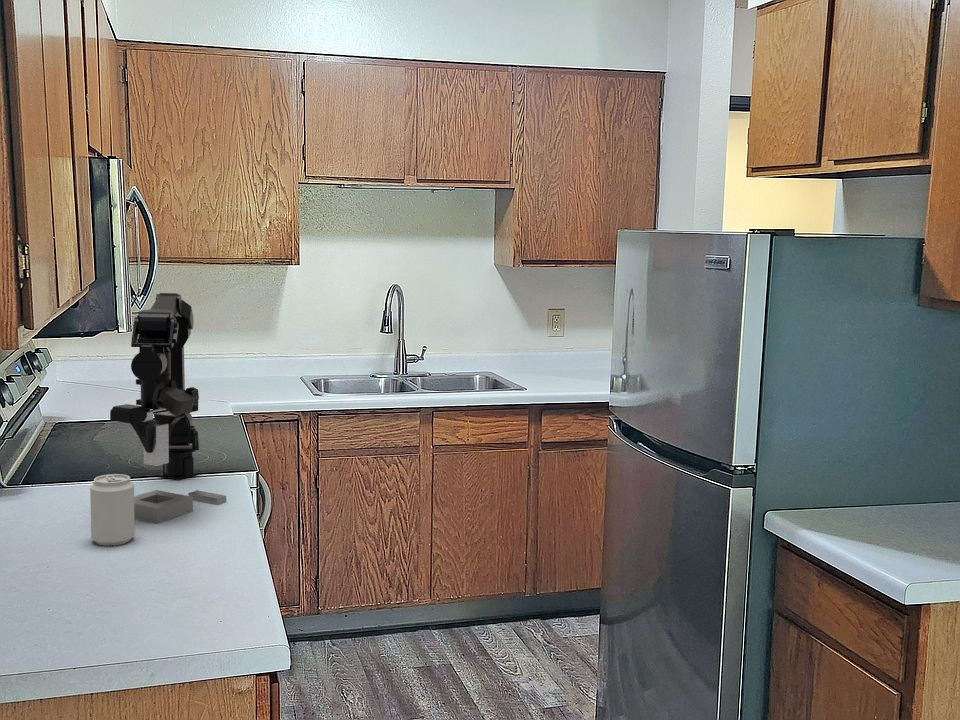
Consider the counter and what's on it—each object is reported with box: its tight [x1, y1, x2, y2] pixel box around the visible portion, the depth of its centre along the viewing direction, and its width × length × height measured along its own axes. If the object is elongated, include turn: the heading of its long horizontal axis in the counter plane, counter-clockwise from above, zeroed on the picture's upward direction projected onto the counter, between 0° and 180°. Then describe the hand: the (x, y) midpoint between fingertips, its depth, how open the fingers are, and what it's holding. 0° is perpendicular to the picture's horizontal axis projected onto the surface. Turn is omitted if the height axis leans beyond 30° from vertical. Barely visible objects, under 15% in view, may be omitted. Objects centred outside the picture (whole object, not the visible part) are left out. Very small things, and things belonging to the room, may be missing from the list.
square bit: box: [142, 422, 169, 467], centre depth 194 cm, size 3×3×8 cm
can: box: [89, 473, 136, 547], centre depth 177 cm, size 8×8×12 cm
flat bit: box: [187, 489, 227, 506], centre depth 205 cm, size 8×3×2 cm, turn 64°
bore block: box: [134, 489, 194, 524], centre depth 195 cm, size 10×10×3 cm
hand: (156, 451), depth 194 cm, fingers closed on square bit, 3 cm apart
